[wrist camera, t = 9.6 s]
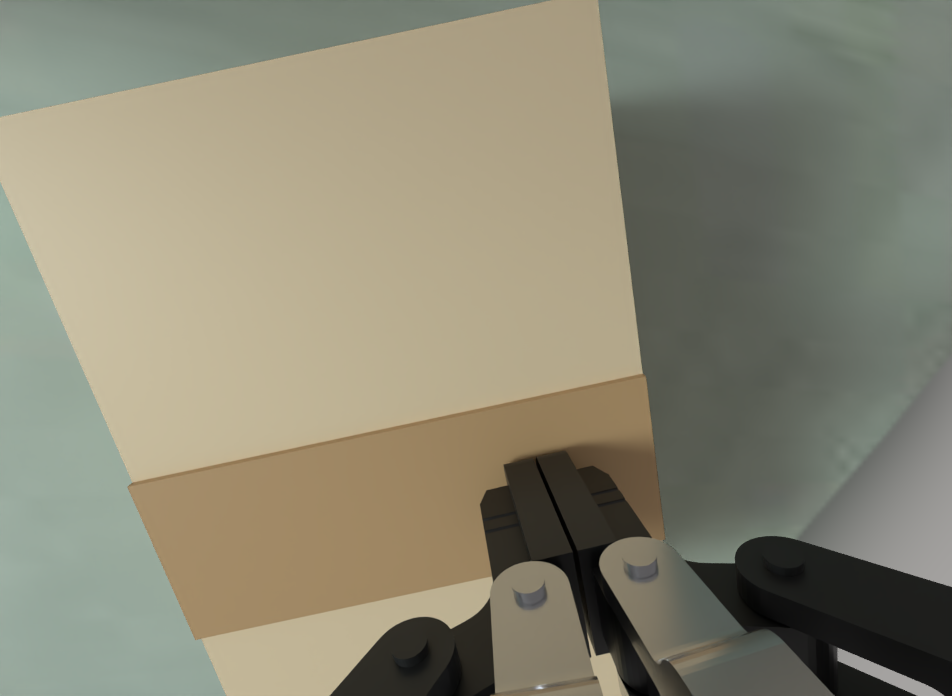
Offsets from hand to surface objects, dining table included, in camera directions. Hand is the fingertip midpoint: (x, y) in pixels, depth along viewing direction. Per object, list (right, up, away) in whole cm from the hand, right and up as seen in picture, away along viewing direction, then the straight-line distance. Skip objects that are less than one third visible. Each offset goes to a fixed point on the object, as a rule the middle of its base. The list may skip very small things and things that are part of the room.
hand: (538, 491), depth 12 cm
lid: (-3, 0, +1) cm, 3 cm away
